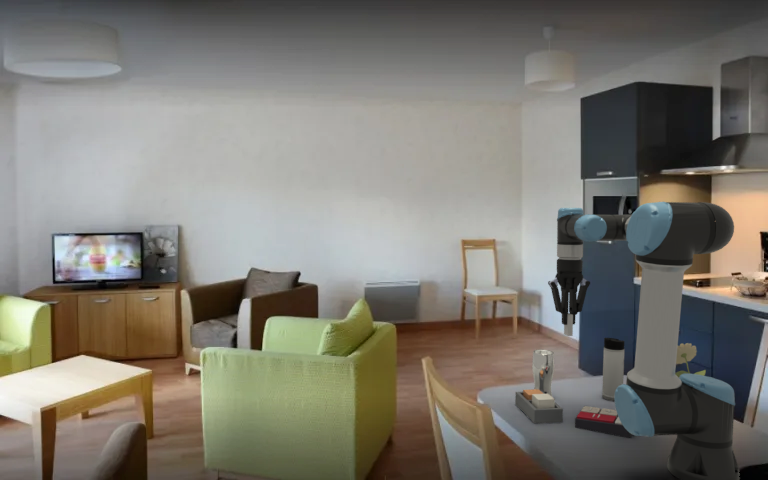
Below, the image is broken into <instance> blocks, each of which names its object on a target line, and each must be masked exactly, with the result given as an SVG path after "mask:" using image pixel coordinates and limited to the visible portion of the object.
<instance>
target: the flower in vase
mask: <svg viewBox="0 0 768 480" xmlns="http://www.w3.org/2000/svg"><path fill="white" fill-rule="evenodd" d="M697 353H698V350H697V346H696V345H692V343H689V342H687V343H685V344H684V343H680V344H679V345H678V346H677V357H676V365H682V364H686V368H687V371H685V370H680V371H677V372H675V374H676V375H677V377H678V378H679V377H680V375H681V374H685V373H688V374H691V371H690V369H689V364H688V362H691V361H692V360H693V359H694V358H695V357H696V356H697ZM706 371H707V370H706V369H704V370H701V371H700V370H699V371H697V372H695V373H693V374H697V375H703V376H706Z"/></svg>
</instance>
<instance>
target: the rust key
mask: <svg viewBox="0 0 768 480" xmlns="http://www.w3.org/2000/svg"><path fill="white" fill-rule="evenodd" d="M522 392H523V396H524V397H525V398H526V399H527V400H532V394H543V393H542V392H541V391H540V390H539V389H522Z"/></svg>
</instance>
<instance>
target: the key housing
mask: <svg viewBox="0 0 768 480" xmlns="http://www.w3.org/2000/svg"><path fill="white" fill-rule="evenodd" d="M541 392H542V393H543V394H545V393H544V392H543V391H541ZM514 396H515V397H514V398H515V400H514V401H515V406H517V408H519V410H520V409H521V410H522V411H523V412H524V413H525V414H526V415H527V416H528V417H529V418H530V419H531V420H530V419H529V418H528V417H527V418H528V419H529V420H530V422H532V423H533V424H534V423H536V424H554V423H553V422H559V423H563V421H564V418H563V416H564V408H563V407H561V406H560V405H559V404H558V403H557V402H555V408H543V409H536V408H535V407H534V406H533V405H532V400H527V399H526V398H525V397H524V396H523V391H515V395H514ZM523 412H522V413H523ZM524 413H523V414H524ZM525 414H524V415H525ZM526 415H525V416H526Z"/></svg>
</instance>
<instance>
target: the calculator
mask: <svg viewBox="0 0 768 480" xmlns="http://www.w3.org/2000/svg"><path fill="white" fill-rule="evenodd" d="M574 427H575V428H576V429H580V430H586V431H592V432H597V433H602V434H607V435H608V434H610V435H614V436H616V437H620V438H625V439H632V437H633V436H634V435H633V434H631V433H629V432H628V431H627V430H626V429H625V427H624V426H623V425H622V423H621V421H620V419H619V417H618V414H617V411H616V409H612V408H605V407H603V408H602V409H601V407H594V406H587V405H584V406H583V407H582V408H581V410H580V411H579V412H578V413H577V415H576V417H574Z"/></svg>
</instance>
